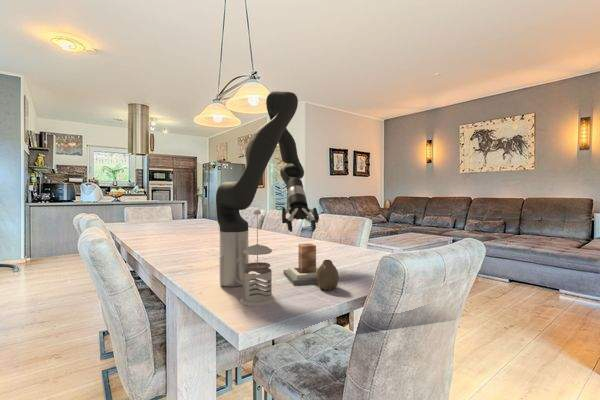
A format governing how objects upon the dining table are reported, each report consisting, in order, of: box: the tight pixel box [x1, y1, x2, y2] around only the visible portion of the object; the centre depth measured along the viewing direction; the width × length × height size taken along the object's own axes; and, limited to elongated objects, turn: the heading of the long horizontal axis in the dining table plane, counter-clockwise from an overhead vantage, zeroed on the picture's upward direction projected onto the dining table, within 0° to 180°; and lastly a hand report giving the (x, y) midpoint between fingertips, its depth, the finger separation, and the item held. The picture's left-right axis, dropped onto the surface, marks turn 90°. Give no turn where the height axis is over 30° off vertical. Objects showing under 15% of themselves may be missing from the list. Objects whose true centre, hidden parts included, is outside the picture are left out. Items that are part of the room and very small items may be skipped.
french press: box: [233, 209, 276, 307], centre depth 85 cm, size 10×12×25 cm
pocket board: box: [283, 264, 320, 286], centre depth 108 cm, size 14×14×3 cm
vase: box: [316, 259, 340, 291], centre depth 96 cm, size 7×7×9 cm
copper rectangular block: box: [298, 242, 317, 274], centre depth 108 cm, size 5×5×10 cm
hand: (302, 230), depth 116 cm, fingers open, 8 cm apart
